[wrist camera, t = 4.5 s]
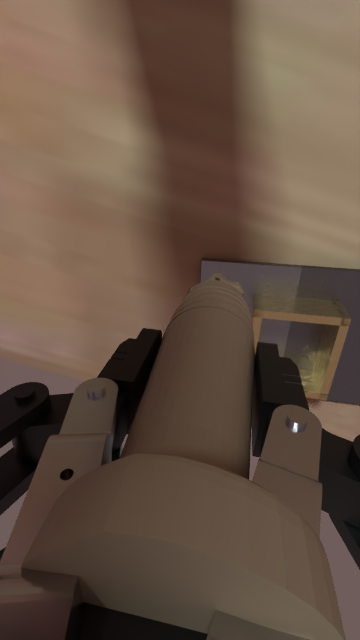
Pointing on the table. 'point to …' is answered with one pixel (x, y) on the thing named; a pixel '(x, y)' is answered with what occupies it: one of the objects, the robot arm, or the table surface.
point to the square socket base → (304, 320)
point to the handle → (193, 497)
